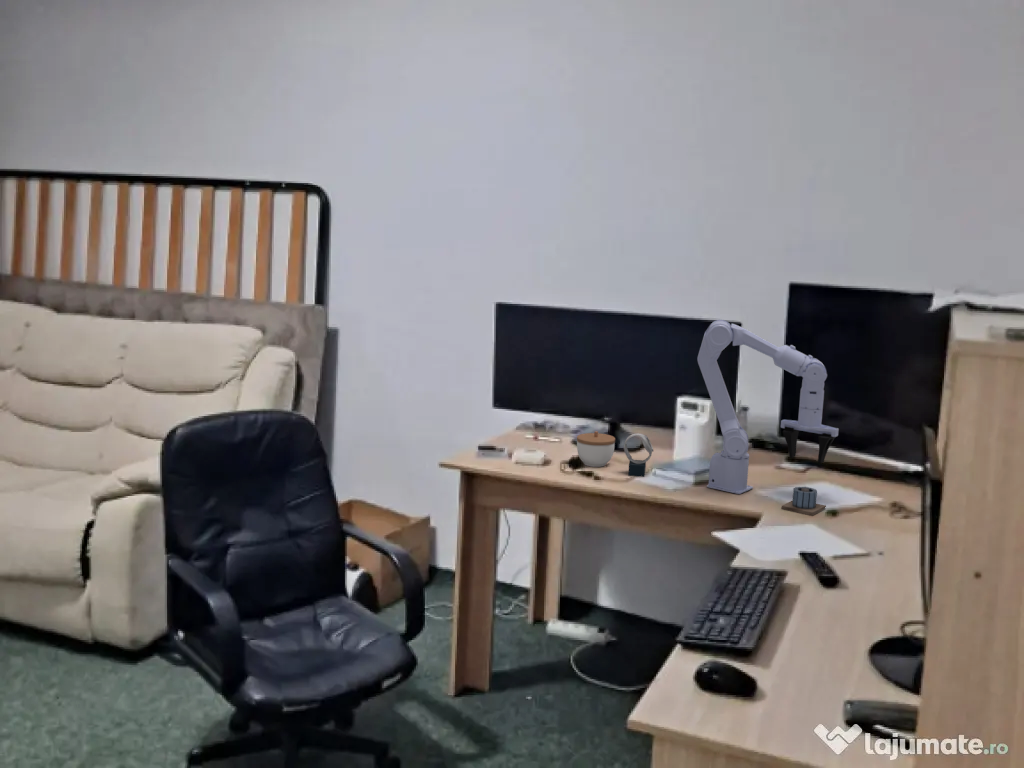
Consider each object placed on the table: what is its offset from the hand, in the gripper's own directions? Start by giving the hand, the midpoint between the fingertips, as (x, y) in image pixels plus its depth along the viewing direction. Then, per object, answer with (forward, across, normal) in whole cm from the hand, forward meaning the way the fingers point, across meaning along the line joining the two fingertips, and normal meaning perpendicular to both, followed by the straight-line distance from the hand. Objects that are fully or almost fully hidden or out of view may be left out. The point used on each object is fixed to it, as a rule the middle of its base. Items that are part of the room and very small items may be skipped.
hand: (806, 459), depth 262 cm
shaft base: (+9, +5, -12) cm, 16 cm away
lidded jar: (+10, -56, -13) cm, 58 cm away
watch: (+10, -42, -13) cm, 45 cm away
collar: (+9, +5, -12) cm, 15 cm away
